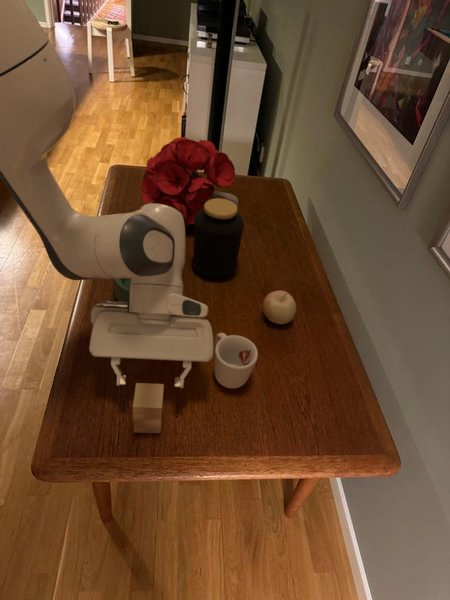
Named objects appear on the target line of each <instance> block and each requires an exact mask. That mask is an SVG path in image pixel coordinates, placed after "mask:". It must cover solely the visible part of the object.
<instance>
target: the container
mask: <svg viewBox="0 0 450 600" xmlns="http://www.w3.org/2000/svg"><path fill="white" fill-rule="evenodd" d="M203 206H204V209H202V210H200V211H199V212H198V213H197V214H196V216H195V218H194V224H193V225H194V235H193V256H192V258H191V264H192V267H193V268H194V270H195V271H197V272H198V274H200V275H202V276H203V277H205V278H206V277H207V278H211V279H222V278H227V277H229V276H231V275H233V274H234V273H235V271H236V270H237V268H238V266H239V264H238V263H239V262H238V258H239V253H240V247H241V242H242V237H243V232H244V228H245V220H244V218H243V217H242V215H241V214H240V213H238V210H239V209H238V205H237V206H236V204H235V203H233V202H232V201H229V200H226V199H219V198H216V199H208V200H207V201H206V202H205V203H204V204H203Z"/></svg>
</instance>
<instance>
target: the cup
mask: <svg viewBox="0 0 450 600" xmlns="http://www.w3.org/2000/svg"><path fill="white" fill-rule="evenodd" d="M258 357H259V352H258V348H257V346H256V345H255V344H254V342H253V341H252V340H250V339H248V338H247V337H244V336H241V335H237V334H236V335H235V334H231V335H227V334H226V333H225V332H219V333H217V334H216V336H215V347H214V376H215V379H216V381H217V383H218V384H220V385H221V386H223V387H225V388H227V389H238V388H240V387H242V386H244V385H246V383H247V381H248V380H249V378H250V376H251V374H252V371H253V369H254V367H255V365H256V363H257V361H258Z"/></svg>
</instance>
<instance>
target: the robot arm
mask: <svg viewBox="0 0 450 600" xmlns="http://www.w3.org/2000/svg"><path fill="white" fill-rule="evenodd" d="M75 111H76V92H75V89H74V86H73V83H72V80H71V77H70V75H69V73H68V71H67V69H66V67H65V65H64V63H63V61H62V60H61V58H60V56H59V54H58V52H56V49H55V48H54V46H53V44H52V42H51V41H50V40H49V38H48V36H47V34H46V33H45V31H44V29H43V27H42V25H41V24H40V22H39V20H38V19H37V18H36V16H35V14H34V13H33V11H32V10H31V9H30V7H29V5H28V3H27V2H26V1H25V0H0V180H1V181H2V183H3V185H4V186H5V187H6V189H7V190H8V192H9V194H10V195H11V196H12V197H13V199H14V200H15V202H16V203H17V205H18V206H19V208H20V209H21V210H22V212H23V213H24V215H25V216H26V218H27V219H28V221H29V222H30V223H31V225H32V226H33V228H34V229H35V231H36V232H37V234H38V236H39V237H40V240H41V242H42V244H43V246H44V249H45V251H46V254H47V256H48V259H49V260H50V262H51V264H52V266H53V268H54V269H55V270H56V271H57V272H58V273H59V274H60V275H61V276H62V277H64V278H66V279H68V280H71V281H85V280H95V279H104V280H105V279H107V280H108V279H109V280H110V279H111V280H113V279H120V278H132V279H131V283H130V297H129V302H121V301H118V300H117V301H111V300H101V302H98V303H96V304H94V305H93V307H92V308H91V311H90V323H91V325H92V330H91V334H90V340H89V347H88V348H89V349H88V352H90V354H91V355H92V357H94V358H110V365H111V368H112V369H113V371H114V373H115V375H116V383H115V384H116V386H117V387H126V386H127V384H128V383H127V382H128V380H127V379H128V373H123V371H122V369H121V368H120V364H121V363H122V359H134V360H135V359H138V360H156V361H157V360H159V361H178V362H180V361H181V362H182V367H183V368H184V369H183V370H182V371H181V373H180V375H175V376H174V388H175V389H184V386H185V385H184V383H185V378H186V377H187V375H188V373H189V372H190V371H191V369H192V363H193V362H199V363H200V362H202V363H209V362H210V361H211V360H212V359H213V357H214V334H213V328H212V324H211V322H210V321H209V320H208V319H207V318H206V317H207V316H208V314H209V307H208V305H207V304H205V303H203V302H200V301H198V300H195V299H194V298H192V297H187V296H185V294H184V281H183V270H184V267H185V264H186V255H187V253H186V252H187V251H186V250H187V237H186V236H187V235H186V226H185V224H184V219H183V216H182V214H181V213H180V212H179V211H178V210H176V209H175V208H173V207H171V206H167V205H163V204H158V203H149V204H145V203H144V205H141V207H140V209H137V210H135V211H131V212H124V213H112V214H105V215H104V214H103V215H102V214H101V215H88V214H83V213H81V212H79V211H77V210H76V209H74V208H73V207H72V206H71V204H70V202H69V200H68V199H67V197H66V196H65V193H64V192H63V190H62V188H61V187H60V185H59V183H58V181H57V180H56V178H55V176H54V174H53V173H52V171H51V169H50V167H49V164H48V163H49V162H48V153H49V152H50V151H51V150H52V149H53V148H54V147H55V146H57V144H58V143H59V142H60V141H61V140H62V139H63V137H64V136H65V135H66V133H67V132H68V131H69V129H70V127H71V126H72V122H73V119H74V116H75ZM128 308H129V309H128Z"/></svg>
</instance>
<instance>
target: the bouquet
mask: <svg viewBox="0 0 450 600" xmlns="http://www.w3.org/2000/svg"><path fill="white" fill-rule="evenodd" d="M199 171H201V172H202V171H203V173H200V174H199ZM202 175H204V176H205V175H206V178H205V177H204V176H202ZM235 179H236V169H235V165H234V163H233V162H232V160H231V159H230V158H229V155H228V154H227V153H225V152H223V151H219V150H218V149H217V148H216V145H215V144H214V142H213V141H210V140H206V139H204V140H202V139H200V140H198V141H196V140H194V139H189V138H187V137H185V136H181V137H176V138H173V139H172V140H171V141H169V142H168V143H166V144H164V145H163V146H162V147H161V148H160V151H158V152H157V153H156V154H155V155H154V156H153V157H152V156H151V157H150V158H148V159H147V161H146V165H145V173H144V174H143V177H142V180H141V182H140V189H141V193H140V195H141V199H142V200H143V202H144V205H145V204H149V203H158V204H163V205H167V206H171V207H173V208H175V209H176V210H178V211H179V212H180V213H181V214H182V216H183V219H184V224H185V227H187V226H189V225H195V224H194V218H195V216H196V214H197V213H198V212H199V211H200V210H202V209H204V205H205V203H206V202H207V201H208V200H211V199H216V198H219V199H226V200H229V201H232V202H233V203H235V204H236V206H237V207H238V206H239V205H238V204H239V198H238V197H237V196H235V195H234V194H232V193H228V192H222V191H215V189H216V188H215V187H218V188H220V189H222V190H224V189H223V187H224V188H227V187H230V186H232V185H234V183H235Z"/></svg>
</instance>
